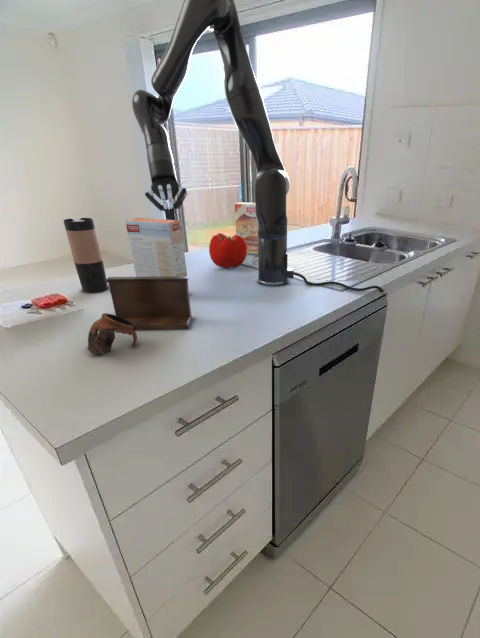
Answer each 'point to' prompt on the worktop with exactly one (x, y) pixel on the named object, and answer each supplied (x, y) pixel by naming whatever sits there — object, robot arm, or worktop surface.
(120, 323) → the brown arched piece
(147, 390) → the worktop surface
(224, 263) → the tomato
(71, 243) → the travel mug
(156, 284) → the walnut backstop
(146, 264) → the cracker box
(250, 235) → the coffeecake box
